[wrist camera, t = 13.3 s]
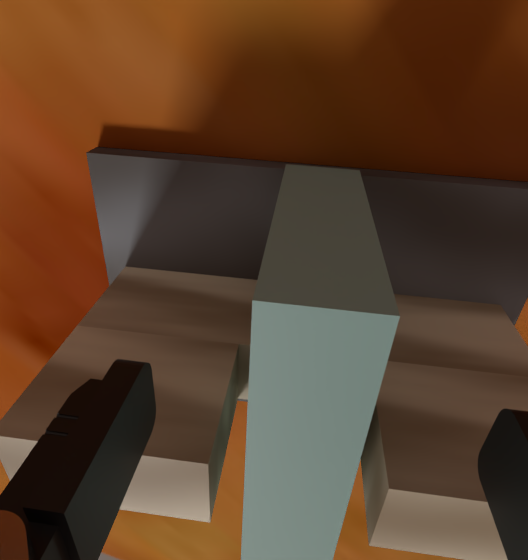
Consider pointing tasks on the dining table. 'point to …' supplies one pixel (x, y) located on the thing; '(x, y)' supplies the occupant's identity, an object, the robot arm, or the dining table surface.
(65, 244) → the dining table surface
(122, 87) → the dining table surface
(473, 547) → the stand
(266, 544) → the sage crossbar
